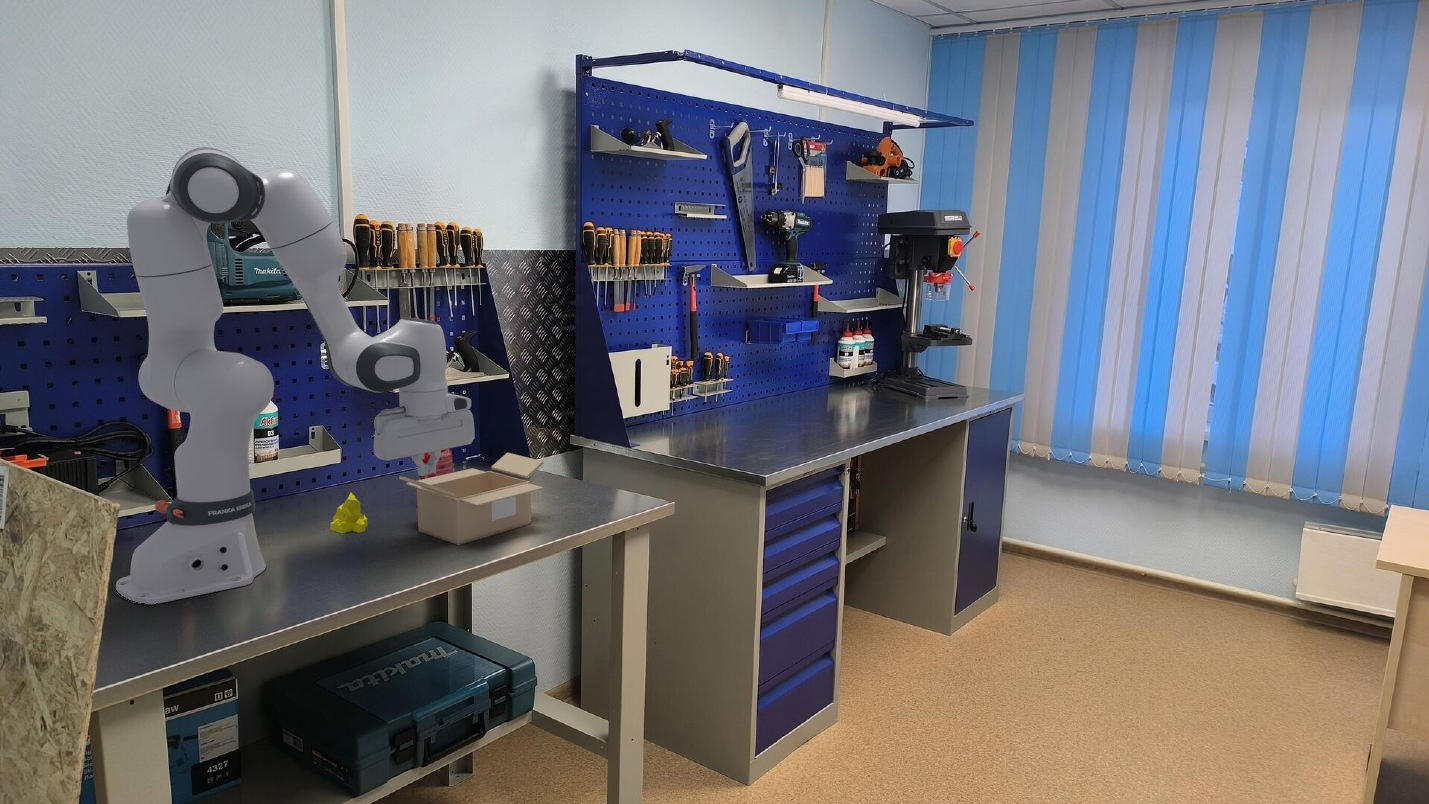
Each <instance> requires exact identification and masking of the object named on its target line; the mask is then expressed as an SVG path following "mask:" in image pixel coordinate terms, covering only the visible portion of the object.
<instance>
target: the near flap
mask: <svg viewBox="0 0 1429 804" xmlns="http://www.w3.org/2000/svg"><path fill="white" fill-rule="evenodd" d="M398 479H399V480H401V481H405V482H406V483H409V482H410V483H413V484H416V485H418V486H422V487H425V488H428V489H432V490H435V491H438V492H441V493H445V494H448V495H451V496H455V494H456V493H453V492H450V491H447V490H444V489H442V488H439V487H436V486H433V485H429V484H426V483H422V482H419V481H418V480H416V479H412V478H408V477H405V476H402V475H400V476H399V478H398Z"/></svg>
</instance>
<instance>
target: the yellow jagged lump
mask: <svg viewBox="0 0 1429 804" xmlns="http://www.w3.org/2000/svg"><path fill="white" fill-rule="evenodd" d="M361 509H362V508H361V502H360V501H359V500H358V498H357V497H356V496H355V495H354V493H352V492H350V493H349V495H348V496H347V499H346V500H345V501H344V503H342V504H341V505H339V506H338V507H337V508H336V512H335V515H334V516H333V519H332V522H330V523H329V524H330V531H333V532H337V533H339V534H346V533H349V532H354V533H357V534H359V533H362V532H366V527H369V526H368V524H369V523H368V518H367V517H366V515H365V514H362V512H361V511H362V510H361Z"/></svg>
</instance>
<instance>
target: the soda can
mask: <svg viewBox="0 0 1429 804" xmlns="http://www.w3.org/2000/svg"><path fill="white" fill-rule="evenodd" d="M430 456H431V455H429V454H428V453H424V459H422V461H423V463H424V464H428V461H429V458H430ZM449 473H454V468H453V452H452V450H451V448H448V449H443V450H441V456H440V458H439V460H438V462H437V464H436V473H435V474H430V475H426V476H419V475H418V480H422V479H427V478H431V477H436V476H440V475H445V474H449Z"/></svg>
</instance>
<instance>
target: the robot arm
mask: <svg viewBox="0 0 1429 804" xmlns="http://www.w3.org/2000/svg"><path fill="white" fill-rule="evenodd" d="M169 180H170V181H169V182H168V183H169V184H168V186H167V189H166V192H165V195H164V196H161V197H157V198H150V199H147V200H144V201H142V202H139V203H138V204H136V205H135V206H133V207H132V208H131V209H130V210H129V212H128V214H127V218H126V225H127V226H126V228H127V229H126V230H127V238H128V239H127V241H128V246H129V252H130V253H129V254H130V257H131V258H130V259H131V263H132V266H133V270H134V274H135V278H136V280H137V284H138V285H137V286H138V289H139V293H140V295H141V299H142V303H143V306H144V310H145V314H146V319H147V325H148V350H147V351H148V352H147V356H146V358H145V359H144V360H143V361H142V364H141V366H140V368H139V371H138V384H139V388H140V390H141V392H142V394H144V396H146V397H147V398H148V399H149V401H152V402H154V403H155V404H158V405H160V406H161V407H164V408H166V409H167V410H171V411H176V412H182V413H189V417H190V421H189V422H190V423H189V428H188V430H187V431H188V432H187V435H186V438H185V440H184V442H183V443H181V444H179V445H178V447H177V448H176V450H175V452H174V456H173V457H174V458H173V459H174V468H175V470H174V471H175V482H176V493H177V495H176V496H175V498H174V499H173V500H172V501H171V502H168V501H166V500H163V499H160V500H158V501H156V503H155V504H154V510H155V511H157V512H159V513H161V514H162V515H164V514H166V520H167V521H166V522H164V523H163V524H162V526H160V527H159V528H158V529H157V530H155V532H153V533H152V534H151V535H150V536H149V537H148V538H147V539H145V540H144V541H143V542H142V543H140V544H139V545H138V546H137V547H136V548H135V549H134V550H133V553H132V557H131V561H130V562H131V563H130V572H129V573H130V574H129V575H127V576H124V577H121V578H119V579H118V580H117V581H116V582H115V583H116V584H115V591H116V590H117V591H118V592H119V593H120V594H121V595H122V596H124V597H126V598H128V599H129V600H133V601H135V602H134V603H136V602H138V603H137V604H141V603H145V604H144V605H156V603H158V604H162V603H163V604H164V603H166V602H171V601H176V600H180V599H186V598H190V597H191V598H192V597H194V596H195V597H196V596H201V595H205V594H210V593H214V592H219V591H224V590H230V589H233V588H238V587H239V588H240V587H243V586H247V585H250V584H251V583H253V581H254V579H255V577H257V576H258V575H260V574H261V573H263V572H264V571H265V569H266V568H267V564H266V561H265V559H264V557H263V553H262V550H261V548H260V545H259V541H258V537H257V536H258V535H257V532H256V528H255V527H256V526H255V521H254V520H255V518H256V512H255V511H256V503H255V498H254V496H255V495H254V490H253V489H252V488H251V482H250V480H251V479H250V476H251V475H250V461H249V460H250V459H249V458H250V457H249V448H250V440H251V436H252V432H253V429H254V426H255V423H256V420H257V418H258V416H259V415H261V413H262V412H263V411H264V410H266V408H268V406H269V404H270V403H271V401H272V398H273V395H274V392H275V391H274V390H275V383H274V378H273V376H272V372H271V371H270V369H269V368H268V367H267V366H266V365H265V364H264V363H263V362H260V361H258V360H256V359H254V358H252V357H249V356H247V355H245V354H242V353H238V352H231V351H222V350H217V348H216V345H215V339H214V337H215V336H214V335H215V334H214V333H215V324H216V322H217V321H218V320H219V319H220V317H221V316H222V315H223V312H224V303H223V299H222V295H221V294H222V293H221V291H220V290H221V289H220V288H219V283H218V279H217V275H216V272H215V268H214V263H213V260H212V256H211V252H210V249H209V244H208V238H207V236H208V235H207V233H208V229H209V226H210V225H211V224H227V223H232V222H242V221H244V222H245V221H251V222H252V223H253V224H254V225H255V226H256V227H257V229H258V230H259V232H260V233H261V235H262V236H263V237H262V238H264V240H265V241H266V243H267V245H268V247H269V248H270V250H271V252H272V254H273V255H274V257H275V259H276V260H277V262H278V263H279V265H280V267H282V269H283V271H284V272H285V274H286V275H287V276H288V278H289V279H290V281H291V282H292V284H293V285H294V287H295V288H296V290H297V291H298V292H299V294H300V296H301V299H302V300H303V302H304V304H305V306H306V308H307V310H308V311H309V314H310V315H311V318H312V320H313V321H314V323H315V325H316V327H317V329H318V331H319V334H320V336H321V337H322V339H323V343H324V345H325V353H326V354H325V355H326V362H327V366H328V367H327V368H328V370H329V371H330V374H331V375H332V377H333V378H334V379H335V380H337V381H338V382H340V383H341V384H342V385H344V386H347V387H348V386H349V387H356V388H360V389H362V390H365V391H369V392H374V393H386V392H390V391H394V390H398V399H399V407H394V408H391V409H390V408H386V409H382V410H381V411H380V412H379V413H378V414H377V415H376V416H375V417H374V421H373V422H374V423H373V425H374V437H373V455H374V456H375V457H377V458H378V459H380V460H383V461H393V460H397V459H402V458H408V457H411V460H412V461H413V463H414V464H415V465H416V467H417V475H418V477H419V476H426V475H430V474H435V473H436V464H437V462H438V460H439V458H440V456H441V450H443V449H448V448H450V449H453V448H457V447H462V446H467V445H471V444H472V443H473V441H474V439H475V436H476V435H475V423H474V421H475V420H474V415H473V413H472V411H471V410H470V409H471V407H472V399H471V398H469V397H466V396H463V395H458V394H454V393H452V392H449V391H448V390H449V387H448V381H447V379H446V370H447V365H448V363H447V362H448V360H447V345H446V339H445V338H446V337H445V334H444V333H445V332H444V331H443V328H442V326H441V325H440V324H439V323H438V322H436V321H434V320H429V319H423V318H415V317H403V318H400V319H399V321H398V322H397V323H395V325H393V326H392V327H391V328H390V327H389V328H388V330H386V331H383V332H381V333H379V334H378V335H374V336H373V337H372V336H370V335H369V334H367V333H366V332H364V331H363V330H362V329H360V327H359V326H358V324H357V323H356V321H355V319H354V317H353V315H352V313H351V311H350V309H349V307H348V305H347V303H346V300H345V299H344V297H343V295H342V293H341V291H340V290H341V289H340V287H339V278H340V275H341V274H342V272H344V271H343V270H344V269H345V266H346V264H347V261H348V253H347V250H346V247H345V243H344V241H343V238H342V236H341V234H340V231H339V230H338V228H337V226H336V224H335V222H334V221H333V218H332V217H331V215H330V213H329V211H328V210H327V208H326V206H325V205H324V204H323V202H322V200H321V199H320V197H319V196H318V195H317V193H316V192H315V191H314V190H313V188H312V187H311V186H310V184H309V183H308V182H307V181H306V178H304V177H303V175H301V173H299V172H297V171H296V170H293V169H291V168H272V169H269V170H266V171H264V172H259V173H256V172H255V173H254V172H252V171H251V170H249V169H248V168H246V167H245V166H244V165H242V163H241V162H240V161H239V160H238V159H237V158H235V157H234V156H232V155H231V154H230V153H228V152H226V151H223V150H222V149H219V148H215V147H209V146H204V147H197V148H194V149H191V150H189V151H187V152H185V153H184V154H183V155H182V156H181V157H179V159H178V160H177V162H176V163H175V165H174V167H173V169H172V173H171V176H170V179H169ZM424 453H428V454H429V455H431V456H430V458H429V461H428V464H424V463H423V461H422V459H424ZM122 596H121V597H122ZM129 600H128V601H129Z"/></svg>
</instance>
